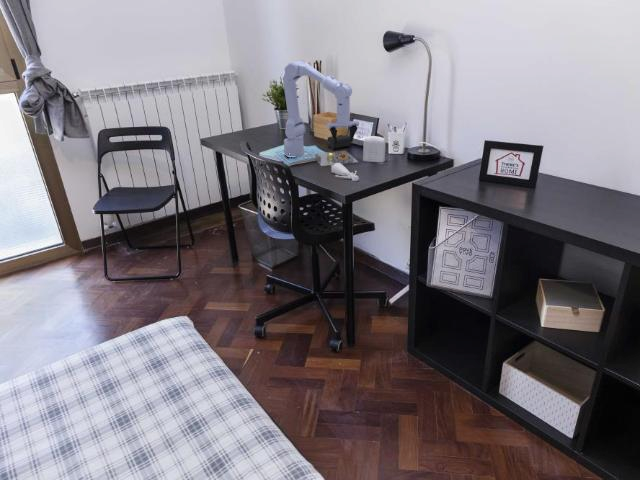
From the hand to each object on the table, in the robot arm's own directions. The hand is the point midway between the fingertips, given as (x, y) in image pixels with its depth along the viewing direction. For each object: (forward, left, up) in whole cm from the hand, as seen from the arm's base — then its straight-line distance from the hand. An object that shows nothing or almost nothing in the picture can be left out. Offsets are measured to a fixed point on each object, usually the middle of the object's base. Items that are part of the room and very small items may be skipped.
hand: (343, 142), depth 222 cm
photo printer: (+13, -5, -10) cm, 17 cm away
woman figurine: (-5, -19, -10) cm, 22 cm away
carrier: (-3, +5, -9) cm, 11 cm away
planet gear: (0, 0, -8) cm, 8 cm away
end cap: (+4, +22, -10) cm, 25 cm away
